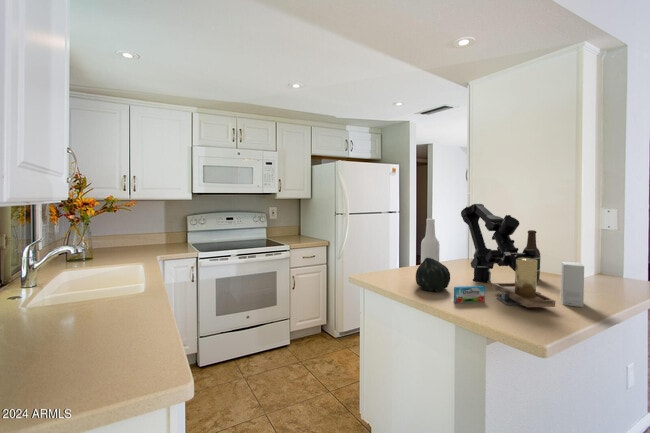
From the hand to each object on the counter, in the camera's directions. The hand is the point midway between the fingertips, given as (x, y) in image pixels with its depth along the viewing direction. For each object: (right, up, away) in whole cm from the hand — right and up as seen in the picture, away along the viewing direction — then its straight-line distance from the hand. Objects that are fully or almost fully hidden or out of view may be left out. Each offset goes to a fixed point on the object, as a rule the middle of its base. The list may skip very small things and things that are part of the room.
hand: (519, 273), depth 128 cm
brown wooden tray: (0, -8, -1) cm, 8 cm away
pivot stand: (0, -11, -1) cm, 11 cm away
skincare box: (+18, -11, -3) cm, 21 cm away
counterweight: (0, -8, -3) cm, 8 cm away
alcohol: (-24, -9, +35) cm, 44 cm away
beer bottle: (+26, -8, +34) cm, 43 cm away
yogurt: (-20, -11, 0) cm, 23 cm away
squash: (-29, -10, +17) cm, 35 cm away
